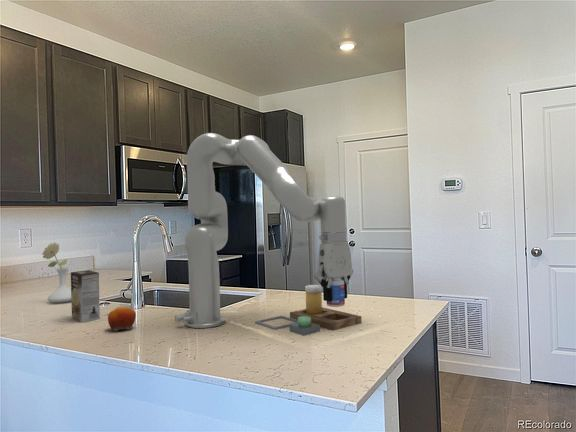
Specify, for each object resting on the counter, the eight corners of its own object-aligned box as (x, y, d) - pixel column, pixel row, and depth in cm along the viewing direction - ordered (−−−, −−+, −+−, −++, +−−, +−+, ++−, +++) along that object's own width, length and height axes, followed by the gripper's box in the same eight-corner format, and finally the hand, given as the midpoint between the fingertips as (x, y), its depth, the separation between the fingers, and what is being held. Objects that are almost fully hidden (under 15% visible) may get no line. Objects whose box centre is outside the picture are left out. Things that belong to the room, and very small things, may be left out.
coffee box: (70, 318, 147) (69, 272, 147) (89, 315, 152) (88, 270, 152) (81, 322, 141) (80, 274, 141) (101, 319, 145) (99, 271, 145)
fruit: (109, 330, 124) (108, 304, 128) (108, 339, 130) (106, 314, 134) (139, 326, 128) (136, 301, 132) (136, 335, 134) (133, 310, 138)
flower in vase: (69, 297, 186) (68, 240, 186) (83, 300, 179) (82, 240, 179) (38, 303, 175) (36, 242, 175) (51, 306, 169) (49, 243, 169)
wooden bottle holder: (332, 334, 119) (332, 323, 119) (290, 322, 134) (289, 312, 134) (361, 326, 127) (361, 316, 127) (318, 316, 142) (317, 306, 142)
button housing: (303, 339, 115) (303, 328, 115) (289, 335, 120) (289, 324, 120) (320, 335, 119) (319, 324, 119) (305, 331, 124) (305, 320, 124)
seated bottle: (313, 320, 131) (312, 288, 131) (302, 318, 135) (301, 286, 135) (326, 318, 134) (325, 286, 134) (314, 315, 138) (314, 284, 138)
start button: (303, 327, 117) (303, 319, 117) (295, 324, 120) (295, 317, 120) (313, 324, 119) (313, 317, 119) (305, 322, 122) (304, 315, 122)
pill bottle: (344, 307, 124) (343, 273, 123) (325, 307, 125) (324, 273, 125) (345, 303, 129) (344, 271, 129) (327, 303, 130) (326, 271, 130)
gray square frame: (275, 333, 122) (275, 327, 122) (255, 327, 130) (255, 321, 130) (302, 327, 128) (302, 321, 128) (281, 321, 136) (281, 315, 136)
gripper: (321, 240, 118) (323, 305, 118) (362, 236, 129) (364, 296, 129) (303, 239, 124) (305, 302, 124) (344, 236, 135) (346, 293, 135)
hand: (335, 298), depth 127 cm, fingers closed on pill bottle, 5 cm apart
